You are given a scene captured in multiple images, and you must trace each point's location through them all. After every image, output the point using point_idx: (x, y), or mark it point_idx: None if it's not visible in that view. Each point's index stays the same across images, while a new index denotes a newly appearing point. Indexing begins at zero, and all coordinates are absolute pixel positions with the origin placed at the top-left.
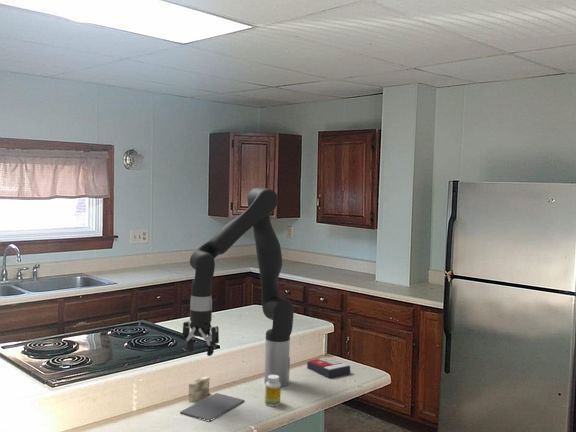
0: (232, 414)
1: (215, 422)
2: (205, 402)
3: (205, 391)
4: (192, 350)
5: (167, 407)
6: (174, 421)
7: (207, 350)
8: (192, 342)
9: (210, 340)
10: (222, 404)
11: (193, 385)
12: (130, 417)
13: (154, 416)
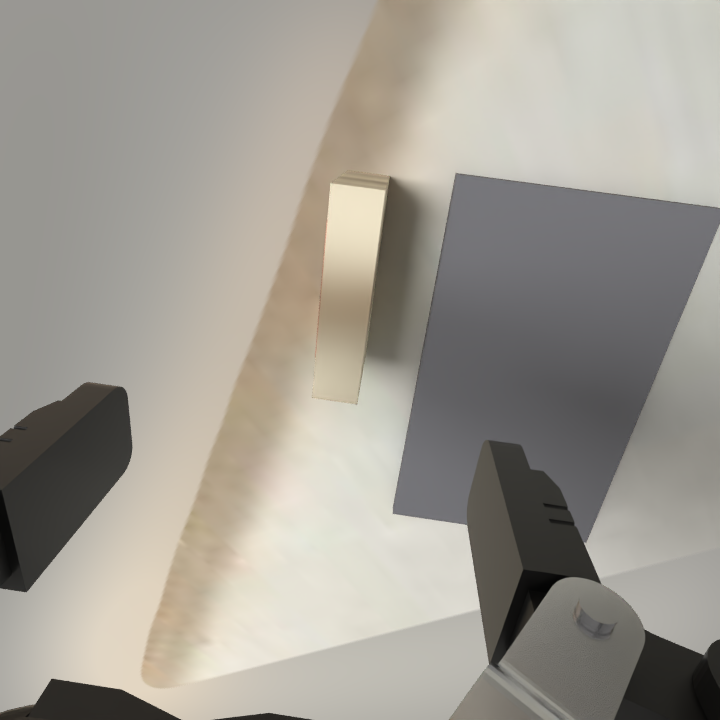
0: (681, 422)
1: (615, 529)
2: (462, 364)
3: (382, 228)
4: (123, 402)
5: (288, 470)
6: (417, 576)
7: (482, 582)
8: (32, 492)
9: (531, 672)
10: (583, 349)
11: (357, 401)
12: (220, 599)
13: (302, 565)
